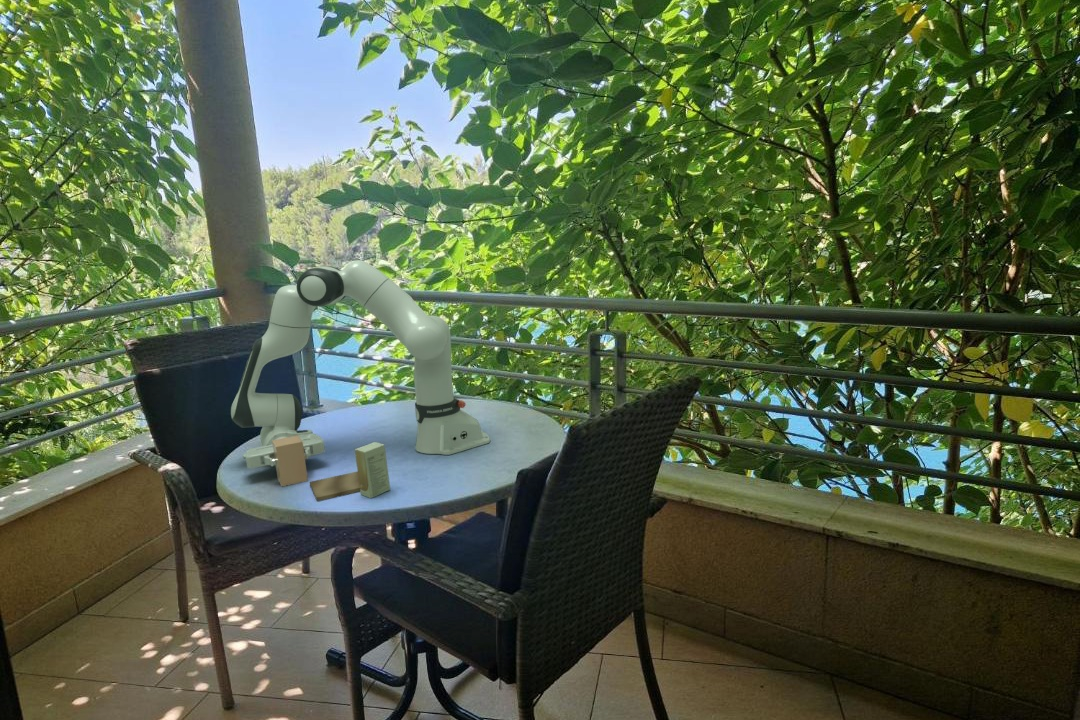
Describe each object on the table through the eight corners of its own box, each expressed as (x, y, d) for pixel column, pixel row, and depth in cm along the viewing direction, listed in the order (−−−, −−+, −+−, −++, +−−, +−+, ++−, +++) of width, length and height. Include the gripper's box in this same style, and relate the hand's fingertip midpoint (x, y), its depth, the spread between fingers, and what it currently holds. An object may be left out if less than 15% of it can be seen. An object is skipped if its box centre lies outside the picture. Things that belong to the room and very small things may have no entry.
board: (360, 474, 169) (359, 470, 169) (370, 489, 159) (370, 485, 158) (310, 485, 163) (309, 481, 163) (317, 501, 153) (316, 497, 152)
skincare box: (380, 486, 160) (375, 441, 157) (391, 490, 157) (386, 444, 155) (359, 495, 155) (353, 448, 153) (369, 499, 152) (364, 451, 150)
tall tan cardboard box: (303, 473, 172) (297, 435, 170) (307, 480, 166) (302, 441, 164) (277, 479, 169) (271, 440, 167) (281, 486, 163) (275, 446, 161)
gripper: (240, 443, 172) (245, 457, 160) (316, 428, 182) (327, 440, 170) (243, 465, 173) (249, 480, 161) (319, 449, 183) (330, 462, 171)
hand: (290, 459), depth 166 cm, fingers closed on tall tan cardboard box, 7 cm apart
